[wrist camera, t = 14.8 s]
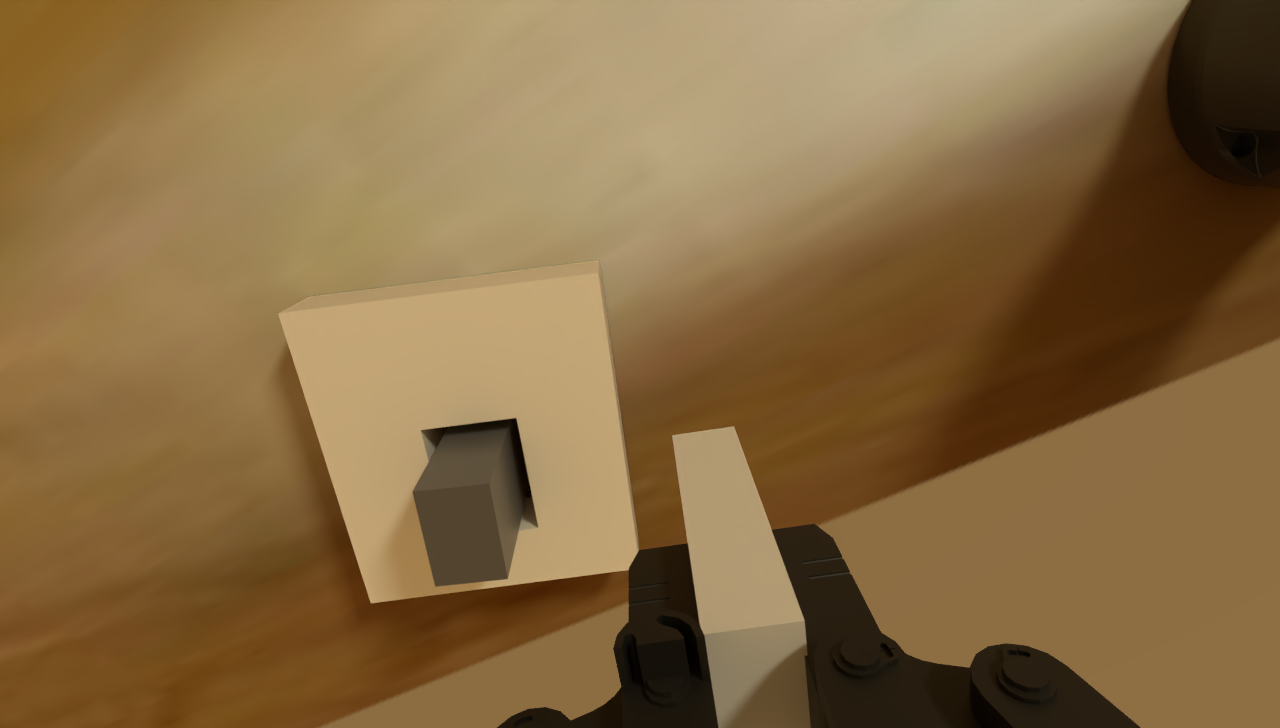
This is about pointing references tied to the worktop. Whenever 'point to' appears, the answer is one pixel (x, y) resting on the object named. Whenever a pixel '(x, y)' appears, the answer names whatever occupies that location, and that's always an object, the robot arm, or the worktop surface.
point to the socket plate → (470, 414)
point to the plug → (473, 502)
